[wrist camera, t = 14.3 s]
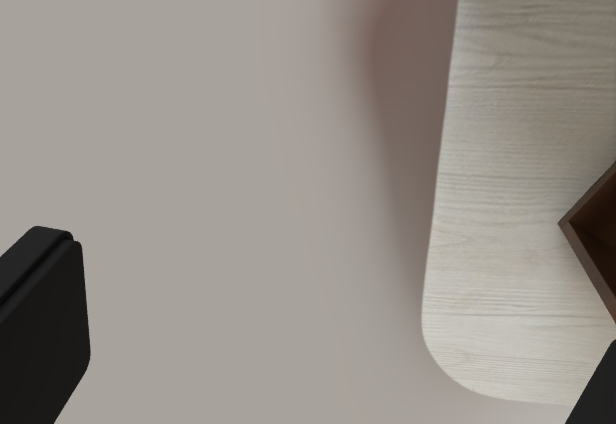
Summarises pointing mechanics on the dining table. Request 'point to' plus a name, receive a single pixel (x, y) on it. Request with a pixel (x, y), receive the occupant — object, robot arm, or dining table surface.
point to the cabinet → (596, 236)
